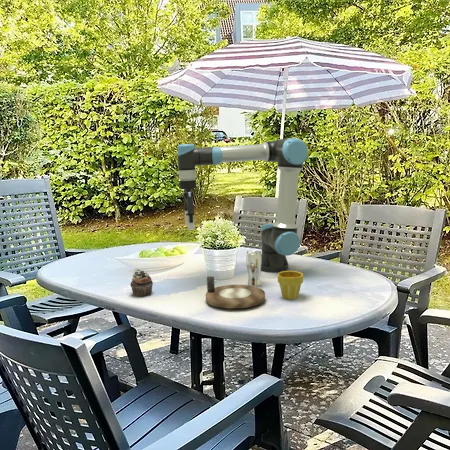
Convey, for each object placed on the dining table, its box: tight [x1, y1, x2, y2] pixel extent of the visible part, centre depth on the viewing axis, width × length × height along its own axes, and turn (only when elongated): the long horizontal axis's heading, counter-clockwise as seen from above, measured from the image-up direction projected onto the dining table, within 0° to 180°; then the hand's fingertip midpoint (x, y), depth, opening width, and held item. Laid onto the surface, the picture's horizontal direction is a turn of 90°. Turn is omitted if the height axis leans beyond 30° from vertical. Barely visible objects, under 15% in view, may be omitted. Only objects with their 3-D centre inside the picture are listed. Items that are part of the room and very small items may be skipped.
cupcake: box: [130, 270, 154, 298], centre depth 205 cm, size 10×10×10 cm
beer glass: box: [245, 250, 262, 287], centre depth 214 cm, size 7×7×15 cm
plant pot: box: [277, 270, 304, 300], centre depth 196 cm, size 10×10×10 cm
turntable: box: [205, 275, 266, 309], centre depth 192 cm, size 24×24×8 cm
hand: (189, 227), depth 212 cm, fingers open, 13 cm apart
